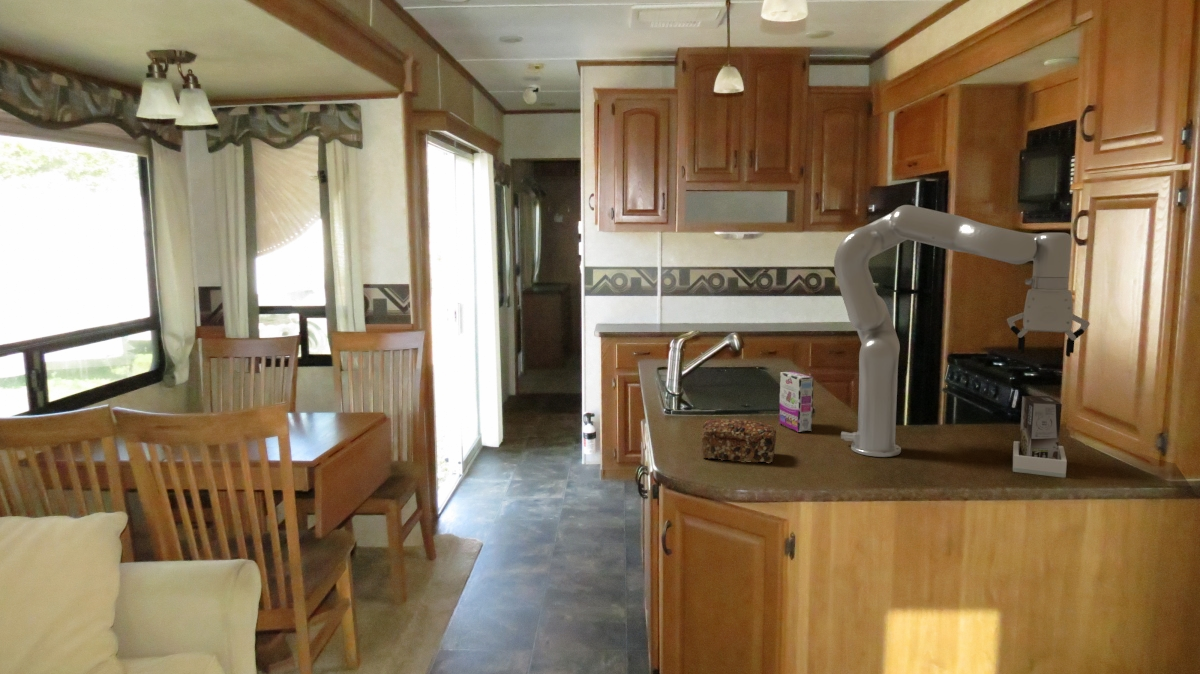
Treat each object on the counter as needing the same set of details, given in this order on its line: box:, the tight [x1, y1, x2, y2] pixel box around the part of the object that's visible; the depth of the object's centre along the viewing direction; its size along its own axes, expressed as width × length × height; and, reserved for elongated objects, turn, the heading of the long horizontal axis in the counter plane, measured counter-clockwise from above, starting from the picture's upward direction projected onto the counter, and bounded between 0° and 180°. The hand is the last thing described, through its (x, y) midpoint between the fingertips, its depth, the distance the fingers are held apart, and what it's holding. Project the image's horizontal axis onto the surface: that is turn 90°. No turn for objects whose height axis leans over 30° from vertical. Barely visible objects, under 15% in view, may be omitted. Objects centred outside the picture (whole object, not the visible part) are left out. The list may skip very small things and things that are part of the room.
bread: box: [701, 418, 777, 464], centre depth 201 cm, size 19×11×10 cm, turn 73°
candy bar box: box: [778, 370, 814, 433], centre depth 227 cm, size 11×5×16 cm, turn 18°
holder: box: [1012, 440, 1068, 479], centre depth 189 cm, size 11×14×4 cm
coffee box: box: [1019, 395, 1063, 459], centre depth 188 cm, size 9×6×16 cm
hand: (1044, 354), depth 185 cm, fingers open, 9 cm apart
